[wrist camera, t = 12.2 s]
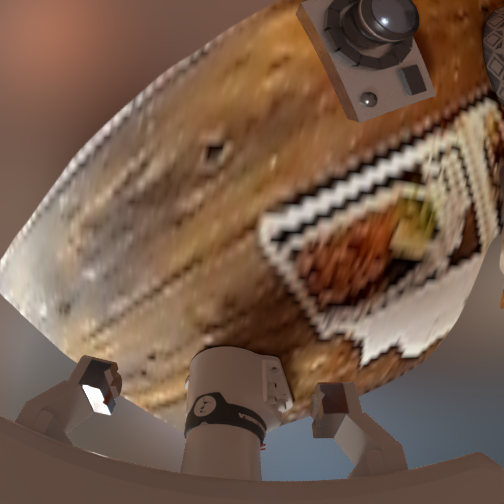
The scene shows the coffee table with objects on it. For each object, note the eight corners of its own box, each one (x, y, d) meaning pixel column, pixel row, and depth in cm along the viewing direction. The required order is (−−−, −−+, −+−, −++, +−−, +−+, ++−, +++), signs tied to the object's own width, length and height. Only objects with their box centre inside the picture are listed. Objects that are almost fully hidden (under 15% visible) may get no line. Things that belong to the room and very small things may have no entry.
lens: (393, 16, 23) (425, 2, 17) (382, 56, 25) (415, 49, 19) (348, -3, 23) (372, -25, 16) (336, 37, 25) (359, 23, 18)
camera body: (416, 93, 31) (444, 96, 25) (347, 118, 34) (365, 124, 28) (370, -8, 25) (390, -24, 19) (295, 14, 28) (303, -3, 22)
